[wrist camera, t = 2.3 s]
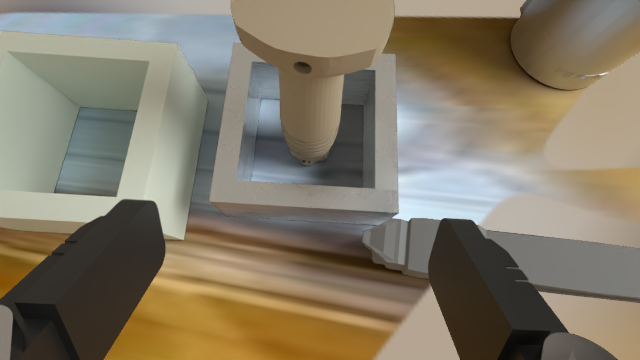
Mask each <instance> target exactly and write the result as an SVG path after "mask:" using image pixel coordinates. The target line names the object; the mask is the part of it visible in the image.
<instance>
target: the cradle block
mask: <svg viewBox="0 0 640 360" xmlns="http://www.w3.org/2000/svg"><path fill="white" fill-rule="evenodd" d="M207 104H208V98H207V97H206V95H205V93H204V91H203V89H202V87H201V86H200V84H199V82H198V80H197V78H196V76H195V75H194V73H193V71H192V69H191V67H190V65H189V64H188V62H187V60H186V58H185V56H184V54H183V53H182V51H181V49H180V47H179V45H178V43H164V42H150V41H137V40H123V39H109V38H95V37H81V36H67V35H53V34H39V33H25V32H11V31H0V227H2V228H8V229H14V230H20V231H34V232H52V233H69V234H73V233H74V232H75V231H76V230H77V229H79V228H80V227H81V226H83V225H85V224H87V223H89V222H90V221H92V220H94V219H96V218H98V217H100V216H105V215H106V214H107V213H108V212H109V211H110V210H111V209H112V208H113V207H114V206H115V205H116V204H117V203H118V202H120V201H121V200H123V199H135V200H151V201H154V202H155V203H156V204H157V207H158V211H159V216H160V221H161V226H162V231H163V236H164V239H174V240H184V236H185V230H186V224H187V219H188V213H189V207H190V201H191V196H192V190H193V184H194V178H195V173H196V167H197V161H198V155H199V150H200V144H201V138H202V133H203V127H204V121H205V115H206V110H207ZM80 107H87V108H102V109H117V110H132V111H137V115H136V119H135V123H134V127H133V132H132V136H131V140H130V144H129V148H128V152H127V156H126V160H125V164H124V168H123V172H122V177H121V181H120V185H119V189H118V193H117V197H106V196H90V195H73V194H56V193H54V191H55V187H56V184H57V181H58V177H59V174H60V171H61V168H62V164H63V161H64V158H65V154H66V151H67V148H68V145H69V141H70V138H71V135H72V131H73V128H74V125H75V122H76V118H77V115H78V112H79V108H80Z"/></svg>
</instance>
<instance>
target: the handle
mask: <svg viewBox="0 0 640 360" xmlns="http://www.w3.org/2000/svg"><path fill="white" fill-rule="evenodd" d="M231 12H232V16H233V20H234V23H235V27H236V30H237V33H238V36H239V38H240V40H241V43H242V45H243V46H244V47H246V48H247V49H248V50H250V51H251V52H252V53H254V54H255V55H256V56H258V57H259V58H261V59H262V60H264V61H266V62H267V63H269V64H270V65H272V66H274V67H276V68H278V69H279V86H280V119H281V126H282V131H283V135H284V138H285V140H286V143H287V145H288V148H289V151H290V154H291V155H292V156H295V157H296V158H298V159H299V160H300V161H301V163H302V165H304V166H311V164H313V163H315V162H317V161H324V160H325V159H326V157H327V156H328V154H329V153H328V151H329V150H330V148H331V147H332V145H333V143H334V141H335V138H336V135H337V132H338V128H339V124H340V116H341V103H342V91H343V82H344V74H348V73H352V72H356V71H359V70H362V69H365V68H369V67H370V66H371V65H372V64H373V63H374V62H375V61H376V60H377V59H378V58H379V56H380V55H381V54H382V52H383V50H384V47H385V45H386V43H387V40H388V38H389V35H390V32H391V29H392V26H393V21H394V17H395V5H394V0H231Z"/></svg>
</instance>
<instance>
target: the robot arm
mask: <svg viewBox="0 0 640 360" xmlns="http://www.w3.org/2000/svg"><path fill="white" fill-rule="evenodd" d="M520 11H521V16H520V18H519V19H518V20H517V22H516V23H515V24H514V26H513V29H512V31H511V37H510V41H511V48H512V51H513V54H514V56H515V58H516V60H517V61H518V63H519V64H520V66H521V67H522V68H523V69H524V70H525V71H526V72H527V73H528V74H529V75H531V76H532V77H533V78H535V79H536V80H538V81H540V82H542V83H544V84H546V85H548V86H551V87H554V88H559V89H565V90H575V89H580V88H585V87H587V86H589V85H591V84H593V83H595V82H596V81H598V80H599V79H601V78H602V77H603V76H605V75H606V74H608V73H609V72H611V71H612V70H614V69H615V68H617V67H618V66H620V65H621V64H623V63H624V62H626V61H627V60H628V59H630V58H631V57H633V56H635V55H636V54H638V53H639V52H640V0H526V2H525V3H524V4H523V6H522V7H521V8H520ZM164 257H165V241H164V236H163V231H162V226H161V221H160V216H159V211H158V207H157V204H156V203H155V202H154V201H151V200H135V199H123V200H121V201H120V202H118V203H117V204H116V205H115V206H114V207H113V208H112V209H111V210H110V211H109V212H108V213H107V214H106V215H105V216H100V217H98V218H96V219H94V220H92V221H90V222H89V223H87V224H85V225H83V226H81V227H80V228H79V229H77V230H76V231H75V232H74V233H73V234H72V235H71V236H70V237H69V238H68V239H66V240H65V244H61V245H60V246H59V247H58V248H57V249H55V250H54V251H53V252H52V255H51V256H48V257H47V258H45V259H44V260H43V261H42V262H41V263H40V264H39V265H38V266H37V267H36V268H34V269H33V270H32V271H31V272H30V273H29V274H28V275H27V276H26V277H25V278H23V279H22V280H21V281H20V282H19V283H18V284H17V285H16V286H15V287H13V288H12V289H11V290H10V291H9V292H8V293H7V294H6V295H5V296H4V297H2V298H1V299H0V360H103V359H104V358H105V356H106V355H107V353H108V351H109V350H110V348H111V346H112V345H113V343H114V342H115V340H116V338H117V337H118V335H119V334H120V332H121V330H122V329H123V327H124V326H125V324H126V322H127V321H128V319H129V318H130V316H131V314H132V313H133V311H134V310H135V308H136V306H137V305H138V303H139V302H140V300H141V298H142V297H143V295H144V293H145V292H146V290H147V289H148V287H149V285H150V284H151V282H152V281H153V279H154V277H155V276H156V274H157V273H158V271H159V269H160V268H161V266H162V264H163V261H164ZM428 276H429V281H430V284H431V286H432V289H433V291H434V294H435V296H436V299H437V302H438V304H439V307H440V309H441V312H442V314H443V317H444V319H445V322H446V324H447V327H448V330H449V332H450V335H451V337H452V340H453V342H454V345H455V347H456V350H457V353H458V355H459V357H460V360H617V359H616V358H615V357H614V356H613V355H612V354H610V353H609V352H608V351H606V350H605V349H603V348H602V347H600V346H599V345H597V344H595V343H594V342H592V341H590V340H588V339H585V338H583V337H580V336H578V335H575V334H570V333H569V332H568V331H567V329H566V328H565V327H564V325H563V324H562V323H561V321H560V320H559V319H558V317H557V316H556V315H555V313H554V312H553V311H552V309H551V308H550V307H549V306H548V304H547V303H546V302H545V300H544V299H543V298H542V296H541V295H540V294H539V292H538V291H537V290H536V288H535V287H534V286H533V284H532V283H529V281H528V280H529V279H528V278H527V277H526V275H525V274H524V273H523V271H522V270H519V266H518V265H517V263H516V262H515V261H514V259H513V258H512V257H511V255H510V254H509V253H508V252H507V251H506V250H505V249H503V248H502V247H501V246H500V245H498V244H497V243H496V242H494V241H493V240H492V239H486V238H485V237H484V235H483V234H482V232H481V231H480V230H479V228H478V227H477V225H476V224H475V223H474V221H472V220H466V219H449V218H444V219H442V220H441V221H440V224H439V227H438V230H437V233H436V237H435V240H434V244H433V247H432V251H431V254H430V258H429V262H428Z"/></svg>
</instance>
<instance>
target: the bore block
mask: <svg viewBox="0 0 640 360" xmlns="http://www.w3.org/2000/svg"><path fill="white" fill-rule="evenodd" d="M261 98H265V99H279V100H280V86H279V69H278V68H276V67H274V66H272V65H270V64H269V63H267V62H266V61H264V60H262V59H261V58H259V57H258V56H256V55H255V54H254V53H252V52H251V51H250V50H248V49H247V48H246V47H244V46H243V45H242V43H234V45H233V51H232V58H231V64H230V70H229V77H228V83H227V89H226V96H225V102H224V108H223V115H222V121H221V127H220V134H219V140H218V147H217V153H216V159H215V166H214V172H213V178H212V185H211V191H210V197H209V202H210V203H211V204H213V205H214V206H215V207H216V208H218V209H219V210H220V211H221V212H223V213H224V214H225V215H226V216H232V217H249V218H266V219H282V220H299V221H316V222H333V223H350V224H367V225H379V224H381V223H383V222H385V221H388V220H389V219H390V218H392V217H394V216H395V215H396V214H398V213H399V206H398V154H397V103H396V54H383V53H382V54H381V55H380V56H379V58H378V59H377V60H376V61H375V62H374V63H373V64H372V65H371V66H370V67H369V68H365V69H362V70H359V71H356V72H352V73H348V74H344V82H343V91H342V103H341V104H353V105H364V128H363V188H355V187H339V186H323V185H307V184H291V183H274V182H258V181H251V178H252V170H253V161H254V153H255V145H256V136H257V128H258V120H259V111H260V103H261Z"/></svg>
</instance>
